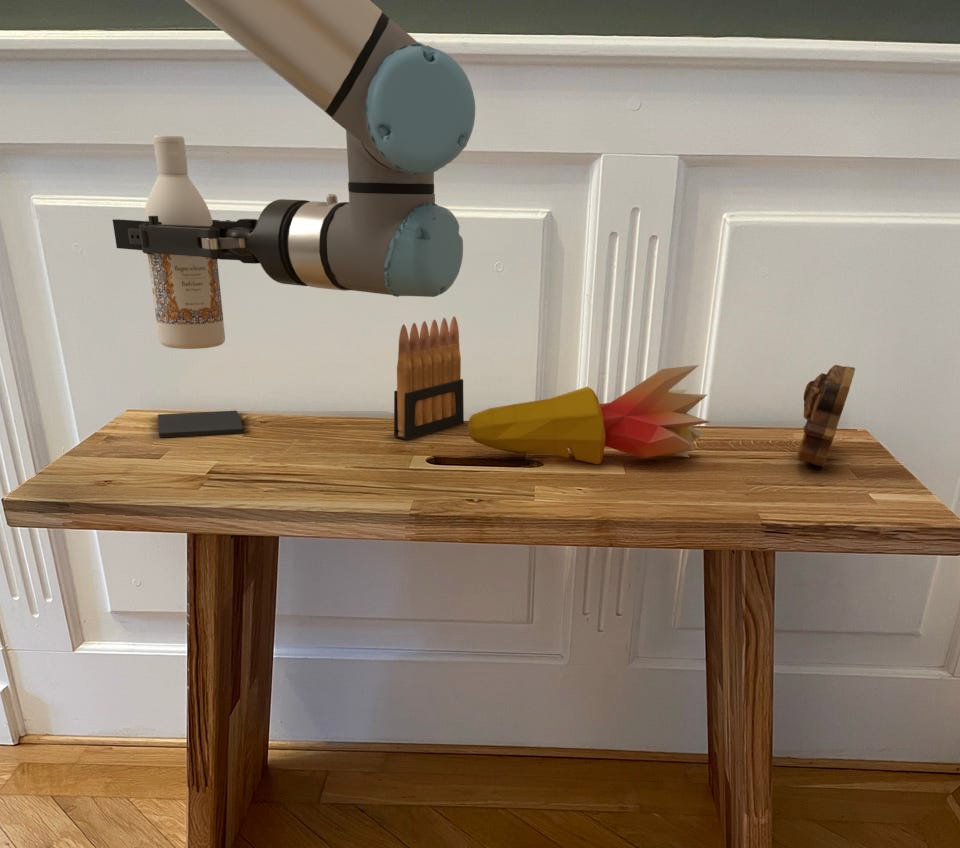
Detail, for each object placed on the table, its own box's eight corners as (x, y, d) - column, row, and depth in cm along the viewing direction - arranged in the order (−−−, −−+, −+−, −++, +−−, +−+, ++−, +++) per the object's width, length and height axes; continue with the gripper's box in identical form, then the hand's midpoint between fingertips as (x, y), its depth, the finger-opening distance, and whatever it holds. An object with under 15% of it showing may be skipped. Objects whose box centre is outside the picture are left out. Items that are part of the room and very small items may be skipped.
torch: (474, 488, 97) (707, 459, 97) (474, 473, 89) (727, 442, 89) (465, 412, 97) (697, 383, 97) (464, 390, 89) (716, 359, 89)
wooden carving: (792, 441, 103) (808, 350, 99) (834, 445, 102) (853, 353, 98) (790, 481, 89) (809, 377, 85) (839, 486, 88) (861, 381, 84)
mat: (159, 437, 99) (158, 433, 98) (158, 418, 106) (157, 414, 106) (244, 432, 101) (243, 428, 101) (237, 414, 109) (236, 410, 109)
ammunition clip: (406, 440, 100) (404, 326, 94) (393, 437, 101) (391, 324, 95) (464, 422, 108) (465, 316, 102) (451, 420, 109) (452, 314, 103)
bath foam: (165, 351, 95) (137, 133, 86) (155, 341, 101) (127, 135, 92) (232, 347, 98) (211, 136, 89) (218, 338, 104) (197, 138, 94)
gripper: (375, 199, 92) (214, 193, 103) (228, 201, 77) (58, 193, 88) (377, 279, 95) (221, 264, 106) (237, 295, 80) (72, 276, 91)
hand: (148, 232), depth 97 cm, fingers closed on bath foam, 7 cm apart
